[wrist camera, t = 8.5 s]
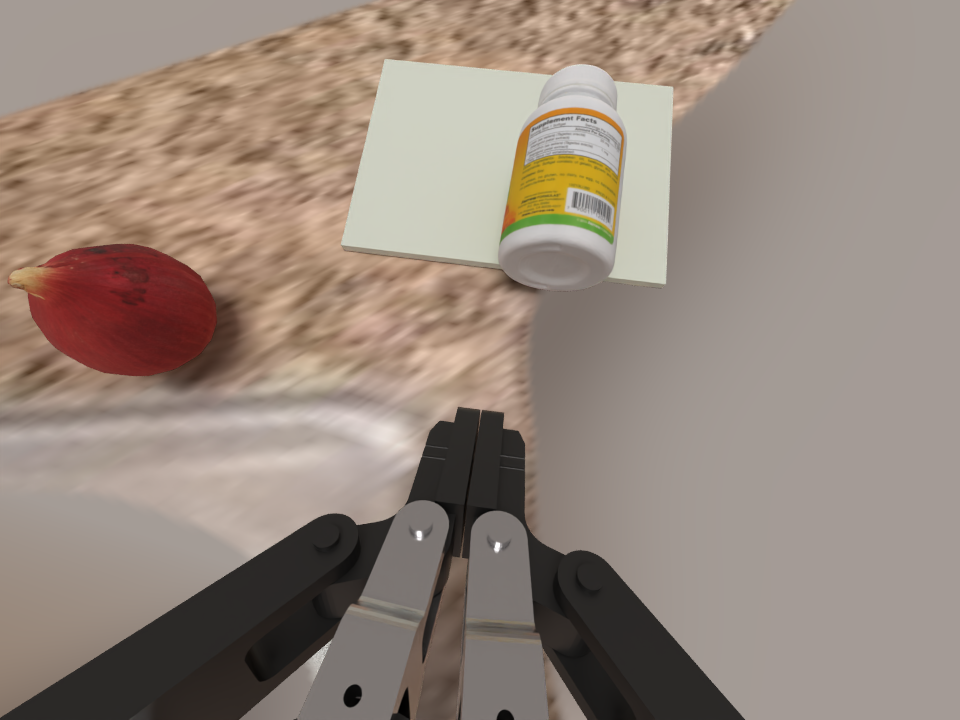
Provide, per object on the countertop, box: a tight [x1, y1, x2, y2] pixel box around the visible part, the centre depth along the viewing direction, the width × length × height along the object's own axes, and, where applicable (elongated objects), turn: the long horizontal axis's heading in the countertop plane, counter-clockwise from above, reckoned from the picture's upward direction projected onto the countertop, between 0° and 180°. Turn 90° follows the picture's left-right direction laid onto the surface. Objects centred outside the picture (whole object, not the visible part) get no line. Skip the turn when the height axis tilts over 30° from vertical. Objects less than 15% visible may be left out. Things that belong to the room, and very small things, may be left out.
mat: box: [341, 59, 673, 288], centre depth 22 cm, size 18×13×1 cm
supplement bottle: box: [498, 64, 627, 291], centre depth 18 cm, size 5×5×10 cm
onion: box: [8, 244, 217, 376], centre depth 17 cm, size 6×6×8 cm
